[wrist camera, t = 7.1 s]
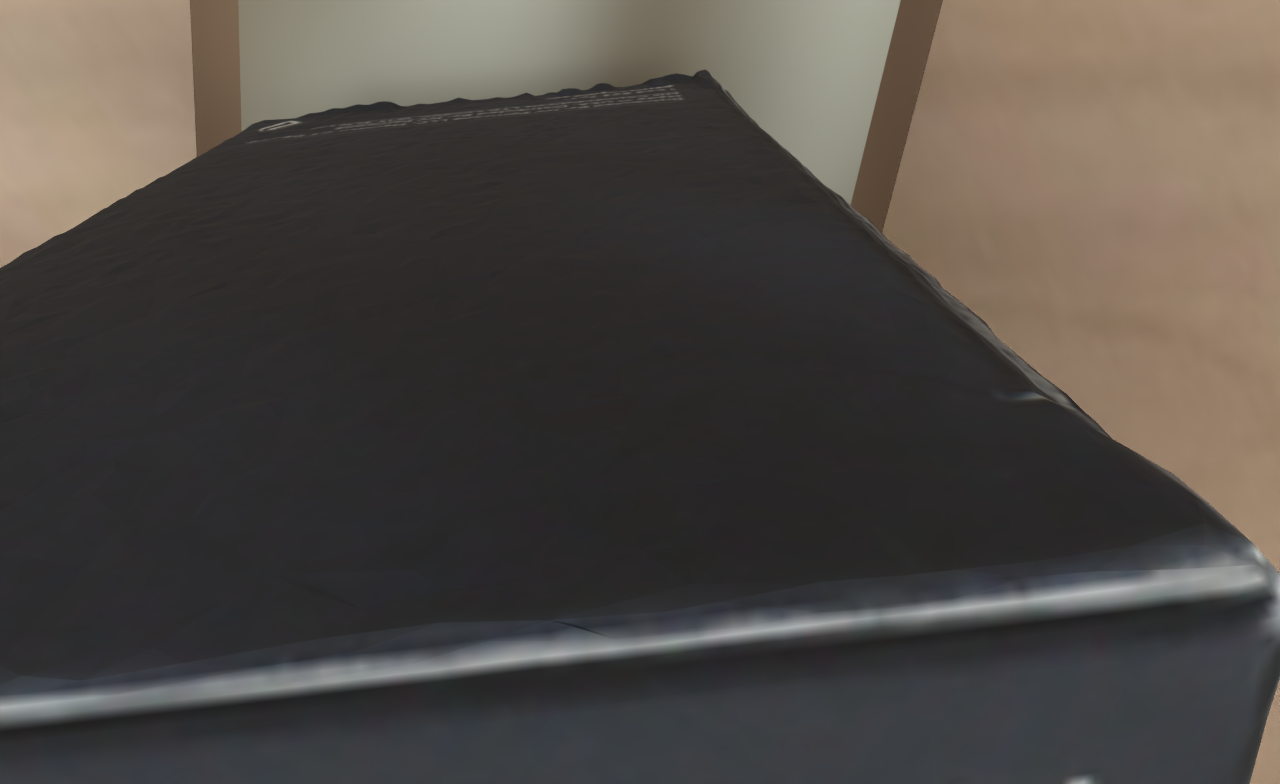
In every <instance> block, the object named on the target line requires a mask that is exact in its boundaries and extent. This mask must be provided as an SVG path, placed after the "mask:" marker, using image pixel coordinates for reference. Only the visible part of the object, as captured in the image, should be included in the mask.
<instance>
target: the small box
mask: <svg viewBox="0 0 1280 784" xmlns="http://www.w3.org/2000/svg"><path fill="white" fill-rule="evenodd" d="M1279 679H1280V574H1279V572H1278V571H1277V570H1276V569H1275V568H1274V567H1273V566H1272V564H1271V563H1270V562H1269V561H1268V560H1267V559H1266V558H1265V557H1264V555H1263V554H1262V553H1261V552H1260V551H1259V550H1258V549H1257V547H1256V546H1255V545H1254V544H1253V543H1252V542H1251V541H1250V540H1249V539H1248V538H1246V537H1245V536H1244V535H1243V534H1242V533H1241V532H1240V531H1239V530H1238V529H1236V528H1235V527H1234V526H1233V525H1232V524H1231V523H1230V522H1229V521H1228V520H1226V519H1225V518H1224V517H1223V516H1222V515H1221V514H1220V513H1219V512H1217V511H1216V510H1215V509H1214V508H1213V507H1212V506H1211V505H1210V504H1209V503H1207V502H1206V501H1205V500H1204V499H1203V498H1201V497H1200V496H1199V495H1198V494H1197V493H1195V492H1194V491H1193V490H1192V489H1191V488H1189V487H1188V486H1187V485H1186V484H1185V483H1183V482H1182V481H1181V480H1180V479H1179V478H1177V477H1176V476H1175V475H1174V474H1172V473H1171V472H1169V471H1167V470H1165V469H1164V468H1162V467H1160V466H1158V465H1157V464H1155V463H1153V462H1151V461H1150V460H1148V459H1146V458H1144V457H1143V456H1141V455H1139V454H1137V453H1136V452H1134V451H1132V450H1130V449H1129V448H1127V447H1125V446H1123V445H1122V444H1120V443H1118V442H1116V441H1115V440H1113V439H1112V438H1111V437H1110V436H1109V435H1108V434H1107V433H1106V432H1105V431H1104V430H1103V429H1102V428H1101V427H1100V426H1099V424H1098V423H1097V422H1096V421H1094V420H1093V419H1092V418H1091V417H1090V416H1089V415H1087V414H1086V413H1085V412H1084V411H1083V410H1082V409H1081V408H1080V407H1079V406H1078V405H1077V404H1076V403H1075V402H1074V401H1073V400H1072V399H1071V398H1070V397H1069V396H1068V395H1067V394H1066V393H1064V392H1063V391H1062V390H1060V389H1059V388H1058V387H1056V386H1055V385H1054V384H1052V383H1051V382H1050V381H1048V380H1047V379H1046V378H1044V377H1043V376H1042V375H1040V374H1039V373H1038V372H1037V371H1036V370H1035V369H1033V368H1032V367H1031V366H1030V365H1029V364H1027V363H1026V362H1025V361H1024V360H1023V359H1022V358H1020V357H1019V356H1018V355H1017V354H1016V353H1014V352H1013V351H1012V350H1011V349H1010V348H1009V347H1007V346H1006V345H1005V344H1004V343H1003V342H1001V341H1000V340H999V339H998V338H997V337H996V336H995V335H994V334H993V332H992V331H991V329H990V328H989V327H988V325H987V324H986V323H985V322H984V321H983V320H982V319H981V318H979V317H978V316H977V315H976V314H975V313H973V312H972V311H971V310H970V309H969V308H967V307H966V306H965V305H964V304H962V303H961V302H960V301H959V300H957V299H956V298H955V297H954V296H952V295H951V294H950V293H948V292H947V291H946V290H944V289H943V288H942V287H941V285H940V284H939V283H938V281H937V280H936V279H935V277H933V276H932V275H931V274H929V273H928V272H927V271H925V270H924V269H922V268H921V267H920V266H918V265H917V264H916V263H915V262H914V261H913V260H912V258H911V257H910V256H909V255H908V254H906V253H905V252H903V251H902V250H900V249H899V248H897V247H896V246H894V245H893V244H892V243H891V242H890V241H889V240H888V239H887V238H886V237H885V236H884V235H883V234H882V233H881V232H880V231H879V230H878V229H877V228H876V226H875V225H874V224H873V223H872V222H871V221H870V220H869V219H868V218H866V217H864V216H863V215H861V214H860V213H859V212H857V211H856V210H855V209H854V208H853V207H852V206H851V205H850V204H849V203H848V202H847V201H846V200H845V199H844V198H843V197H842V196H840V195H838V194H837V193H835V192H834V191H832V190H831V189H830V188H828V187H827V186H825V185H824V184H823V183H822V182H821V181H820V180H819V179H818V178H816V177H815V176H814V175H813V174H812V172H811V171H810V170H809V169H808V168H806V167H805V166H803V165H802V164H801V162H800V161H799V160H798V159H797V158H795V157H794V156H792V154H791V153H790V152H789V151H788V150H786V149H785V148H783V147H782V146H781V145H780V144H779V143H778V142H777V141H776V140H775V139H774V138H773V137H771V135H769V134H768V133H767V132H765V131H764V130H763V129H761V128H760V127H759V126H758V124H757V123H756V121H754V120H753V119H752V118H751V117H749V115H748V114H747V113H746V112H745V111H744V109H743V108H742V107H741V106H740V105H739V104H738V103H737V102H736V101H735V99H734V98H732V96H731V94H730V93H729V92H728V91H727V90H726V89H725V88H724V87H723V86H722V85H721V84H720V83H719V82H718V81H717V80H716V79H714V78H713V77H712V76H711V74H710V73H709V72H708V71H707V70H701V71H698V72H697V73H696V74H695V75H694V76H688V75H684V74H677V73H675V74H670V75H666V76H663V77H660V78H654V79H649V80H647V81H645V82H644V83H642V84H638V85H633V86H627V87H614V86H612V85H610V84H607V83H599V84H596V85H595V86H593V87H592V88H590V89H588V90H580V89H576V88H567V89H562V90H560V91H559V92H549V93H546V94H544V95H538V96H534V95H532V94H529V93H524V94H521V95H518V96H515V97H509V98H501V97H495V98H490V99H481V100H469V99H463V98H456V99H453V100H450V101H447V102H440V103H433V104H416V105H412V106H400V105H397V104H395V103H393V102H387V101H382V102H376V103H373V104H370V105H361V104H357V105H353V106H350V107H346V108H332V109H329V110H326V111H323V112H318V113H309V114H306V115H303V116H300V117H297V118H291V119H276V120H263V121H260V122H257V123H254V124H252V125H250V126H249V127H248V128H246V129H245V130H244V131H242V132H240V133H239V134H237V135H236V136H234V137H232V138H230V139H228V140H225V141H224V142H222V143H221V144H219V145H218V146H216V147H214V148H212V149H210V150H209V151H207V152H206V153H203V154H202V155H200V156H198V157H197V158H195V159H193V160H192V161H190V162H188V163H187V164H185V165H183V166H181V167H179V168H178V169H176V170H174V171H172V172H171V173H169V174H167V175H166V176H163V177H160V178H158V179H157V180H155V181H154V182H152V183H150V184H149V185H147V186H145V187H144V188H141V189H139V190H136V191H134V192H133V193H131V194H130V195H129V196H127V197H126V198H123V199H120V200H118V201H116V202H115V203H113V204H112V205H110V206H109V207H108V208H105V209H103V210H101V211H100V212H98V213H97V214H95V215H93V216H92V217H90V218H89V219H87V220H85V221H84V222H82V223H81V224H79V225H77V226H76V227H74V228H73V229H71V230H69V231H67V232H65V233H63V234H60V235H57V236H54V237H53V238H51V239H50V240H48V241H46V242H45V243H43V244H42V245H40V246H38V247H36V248H34V249H32V250H29V251H27V252H25V253H23V254H22V255H20V256H19V257H18V258H16V259H15V260H13V261H12V262H11V263H9V264H7V265H5V266H4V267H2V268H0V784H1249V783H1250V779H1251V776H1252V772H1253V768H1254V765H1255V761H1256V757H1257V753H1258V750H1259V746H1260V742H1261V739H1262V735H1263V731H1264V727H1265V724H1266V720H1267V717H1268V713H1269V710H1270V707H1271V704H1272V701H1273V698H1274V695H1275V692H1276V689H1277V685H1278V682H1279Z"/></svg>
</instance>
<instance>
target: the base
mask: <svg viewBox="0 0 1280 784" xmlns="http://www.w3.org/2000/svg"><path fill="white" fill-rule="evenodd" d="M942 1H943V0H190V9H191V32H192V55H193V78H194V101H195V123H196V146H197V157H198V156H200V155H202V154H203V153H206V152H207V151H209V150H210V149H212V148H214V147H216V146H218V145H219V144H221V143H222V142H224V141H225V140H228V139H230V138H232V137H234V136H236V135H237V134H239V133H240V132H242V131H244V130H245V129H246V128H248V127H249V126H250V125H252V124H254V123H257V122H260V121H263V120H276V119H291V118H297V117H300V116H303V115H306V114H309V113H318V112H323V111H326V110H329V109H332V108H346V107H350V106H353V105H357V104H361V105H370V104H373V103H376V102H382V101H387V102H393V103H395V104H397V105H400V106H412V105H416V104H433V103H440V102H447V101H450V100H453V99H456V98H463V99H469V100H481V99H490V98H495V97H501V98H509V97H515V96H518V95H521V94H524V93H529V94H532V95H534V96H538V95H544V94H546V93H549V92H559V91H560V90H562V89H567V88H576V89H580V90H588V89H590V88H592V87H593V86H595V85H596V84H599V83H607V84H610V85H612V86H614V87H627V86H633V85H638V84H642V83H644V82H645V81H647V80H649V79H654V78H660V77H663V76H666V75H670V74H675V73H677V74H684V75H688V76H694V75H695V74H696V73H697V72H698V71H701V70H707V71H708V72H709V73H710V74H711V76H712V77H713V78H714V79H716V80H717V81H718V82H719V83H720V84H721V85H722V86H723V87H724V88H725V89H726V90H727V91H728V92H729V93H730V94H731V96H732V98H734V99H735V101H736V102H737V103H738V104H739V105H740V106H741V107H742V108H743V109H744V111H745V112H746V113H747V114H748V115H749V117H751V118H752V119H753V120H754V121H756V123H757V124H758V126H759V127H760V128H761V129H763V130H764V131H765V132H767V133H768V134H769V135H771V137H773V138H774V139H775V140H776V141H777V142H778V143H779V144H780V145H781V146H782V147H783V148H785V149H786V150H788V151H789V152H790V153H791V154H792V156H794V157H795V158H797V159H798V160H799V161H800V162H801V164H802V165H803V166H805V167H806V168H808V169H809V170H810V171H811V172H812V174H813V175H814V176H815V177H816V178H818V179H819V180H820V181H821V182H822V183H823V184H824V185H825V186H827V187H828V188H830V189H831V190H832V191H834V192H835V193H837V194H838V195H840V196H842V197H843V198H844V199H845V200H846V201H847V202H848V203H849V204H850V205H851V206H852V207H853V208H854V209H855V210H856V211H857V212H859V213H860V214H861V215H863V216H864V217H866V218H868V219H869V220H870V221H871V222H872V223H873V224H874V225H875V226H876V228H877V229H878V230H879V231H880V232H881V233H882V230H883V227H884V223H885V219H886V215H887V211H888V208H889V204H890V200H891V196H892V192H893V188H894V185H895V181H896V177H897V173H898V169H899V166H900V162H901V158H902V154H903V150H904V146H905V143H906V139H907V135H908V131H909V127H910V123H911V120H912V116H913V112H914V108H915V104H916V101H917V97H918V93H919V89H920V85H921V81H922V78H923V74H924V70H925V66H926V62H927V58H928V55H929V51H930V47H931V43H932V39H933V36H934V32H935V28H936V24H937V20H938V16H939V13H940V9H941V5H942Z"/></svg>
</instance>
